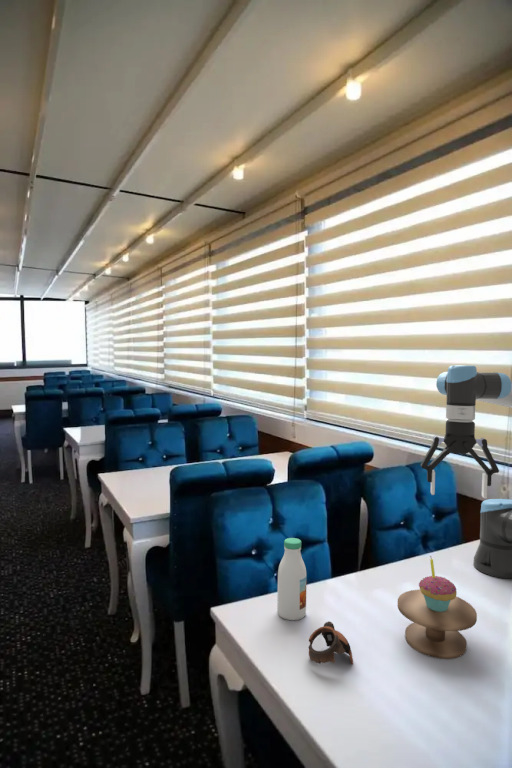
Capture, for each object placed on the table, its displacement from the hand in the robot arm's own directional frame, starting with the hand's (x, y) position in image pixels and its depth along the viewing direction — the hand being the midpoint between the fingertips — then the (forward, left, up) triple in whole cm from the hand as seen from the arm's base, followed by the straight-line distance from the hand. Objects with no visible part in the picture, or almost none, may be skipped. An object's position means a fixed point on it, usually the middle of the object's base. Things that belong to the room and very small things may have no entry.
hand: (458, 495), depth 135 cm
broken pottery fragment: (+32, +35, -31) cm, 57 cm away
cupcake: (+8, +22, -22) cm, 32 cm away
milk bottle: (+44, +18, -31) cm, 57 cm away
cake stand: (+8, +22, -31) cm, 39 cm away
